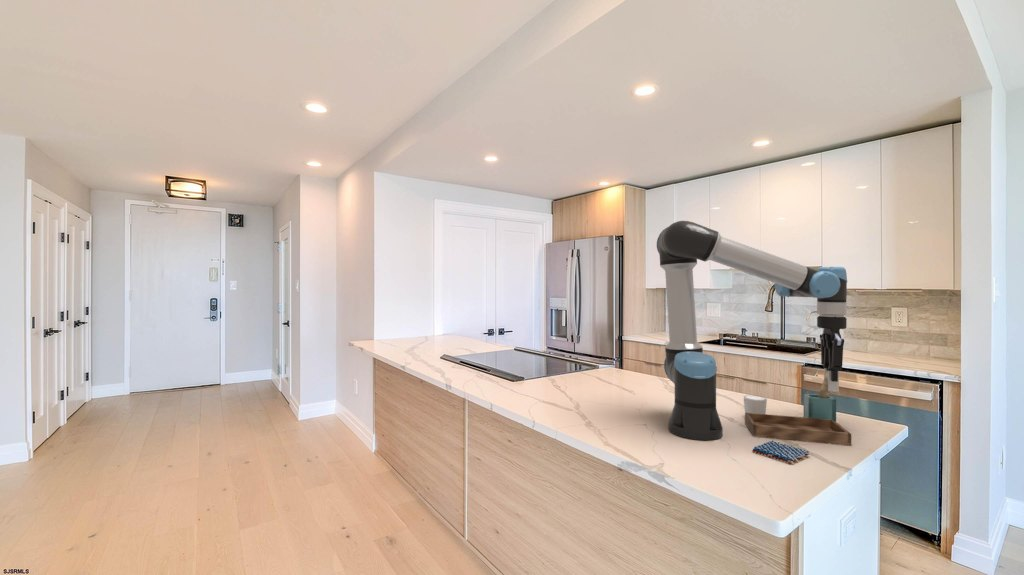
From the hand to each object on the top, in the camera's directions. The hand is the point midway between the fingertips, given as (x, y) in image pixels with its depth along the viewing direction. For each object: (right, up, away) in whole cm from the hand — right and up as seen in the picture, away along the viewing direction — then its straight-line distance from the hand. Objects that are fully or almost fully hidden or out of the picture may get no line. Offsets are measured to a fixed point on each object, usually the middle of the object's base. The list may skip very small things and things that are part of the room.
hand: (831, 390), depth 139 cm
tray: (-16, -11, -7) cm, 21 cm away
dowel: (-2, -1, 0) cm, 2 cm away
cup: (-3, -11, +1) cm, 12 cm away
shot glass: (-20, -12, +8) cm, 24 cm away
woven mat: (-30, -12, -24) cm, 40 cm away
